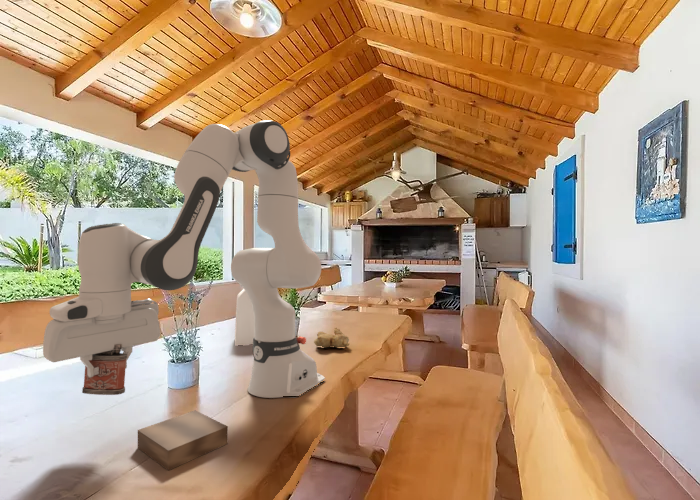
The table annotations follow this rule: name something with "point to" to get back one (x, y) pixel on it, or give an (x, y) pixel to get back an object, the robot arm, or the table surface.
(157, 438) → the walnut base
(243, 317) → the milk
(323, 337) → the ginger root
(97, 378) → the lighter
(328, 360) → the table surface
